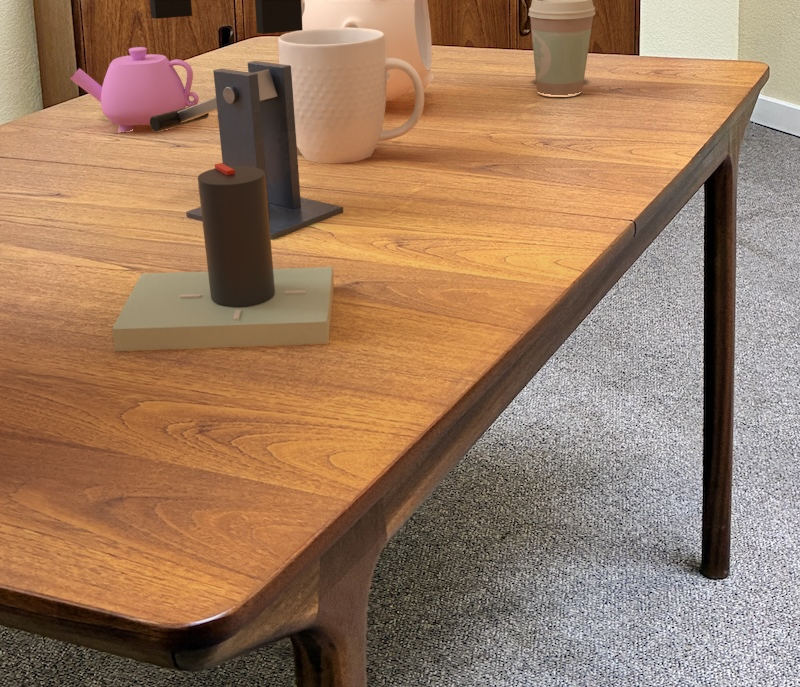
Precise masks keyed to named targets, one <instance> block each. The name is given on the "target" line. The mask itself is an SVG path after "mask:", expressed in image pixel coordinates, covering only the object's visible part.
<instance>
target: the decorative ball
mask: <svg viewBox="0 0 800 687" xmlns="http://www.w3.org/2000/svg"><path fill="white" fill-rule="evenodd" d="M301 6H302V29H303V30H308V29H319V28H340V27H348V28H366V29H374V30H378V31H381V32H383V33H384V35H385V53H386V58H397V59H400V60H403V61H405V62H407V63H409V64H410V65H411V66H412V67H413V68H414V69H415V70H416V71H417V73H418V75H419V77H420V79H421V81H422V85H423V89H424V90H425V89H426V88H427V86H428V85H430V83H431V82H432V81H433V79H434V78H435V75H434V74H433V73H432V63H433V43H432V42H433V41H432V30H431V18H430V11H429V2H428V0H301ZM386 75H387V79H386V80H387V85H386V89H387V90H386V103H387V102H390V101H393V100H395V99H398V98H401V97H402V96H404V95H405V94H408V93H409V92H410V91H412V90H413V89H415V88H414V85H413V82H412V80H411V79H410V77H409V76H408V75H407V74H406V73H405V72H404V71H402V70H400V69H391V70H387V71H386Z"/></svg>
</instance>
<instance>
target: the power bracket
mask: <svg viewBox="0 0 800 687" xmlns="http://www.w3.org/2000/svg"><path fill="white" fill-rule="evenodd" d="M267 69H269V71H270V74H271V77H272V80H273V83H274V86H275V89H276V92H277V95H278V96H277V97H275V98H272V99H269V100H267V101H264V102H261V103H260V96H259V84H258V74H257V73H255V72H259V71H263V70H267ZM212 72H213V82H214V91H215V97H216V102H217V110H216V111H217V120H218V130H219V141H220V150H221V160H222V161H221V163H223V164H225V165H227V166H228V167H229V166H249V167H255V168H259V169H261V170H263V171H264V172H265V179H266V191H267V203H268V214H269V226H270V238H271V241H274V240H277V239H279V238H282V237H284V236H287V235H289V234H291V233H292V234H293V233H294V232H297V231H300V230H302V229H305V228H307V227H310V226H313V225H315V224H318V223H320V222H322V221H326V220H327V219H331V218H332V217H335V216H338V215H341V214H343V213H344V207H343V206H340V205H336V204H333V203H332V204H331V203H327V202H324V201H319V200H314V199H309V198H306V197H301V187H300V173H299V159H298V147H297V143H296V129H295V115H294V101H293V87H292V73H291V66H290V65H283V64H279V63H276V62H267V61H259V60H253V61H248V62H247V71H242V70H236V69H227V68H218V69H214V70H213V71H212ZM185 213H186V218H188V219H192V220H196V221H199V222H202V213H201V206H199V207H196V208H194V209H191V210H187V211H186V212H185Z"/></svg>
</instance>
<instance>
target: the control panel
mask: <svg viewBox="0 0 800 687" xmlns="http://www.w3.org/2000/svg"><path fill="white" fill-rule="evenodd" d="M273 273H274V285H275V294H274V296H273V297H272V298H271V299H269V300H267V301H265V302H263V303H260V304H256V305H252V306H244V307H230V306H223V305H219V304H217V303H215V302H213V301H212V299H211V294H210V285H209V276H208V270H206V271H205V270H202V271H179V272H177V271H174V272H151V273H150V272H149V273H147V272H146V273H141V274H140V276H139V278H138V279H137V281H136V283H135V285H134V287H133V288H132V291H131V293H130V294H129V296H128V298H127V300H126V302H125V304H124V305H123V307H122V309H121V311H120V312H119V315H118V316H117V318H116V320H115V322H114V324H113V326H112V327H111V334H112V342H113V347H114V352H132V351H133V352H135V351H138V352H139V351H158V350H159V351H161V350H184V349H185V350H188V349H189V350H190V349H191V350H193V349H194V350H195V349H215V348H216V349H218V348H220V349H221V348H244V347H272V346H273V347H274V346H275V347H276V346H303V345H305V346H306V345H326V344H327V345H328V344H329V343H330V332H331V323H332V322H331V321H332V311H333V302H334V301H333V300H334V292H335V291H334V289H335V281H334V280H335V279H334V267H333V266H321V267H320V266H319V267H314V266H313V267H292V268H291V267H289V268H286V267H285V268H273Z"/></svg>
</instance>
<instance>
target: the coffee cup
mask: <svg viewBox="0 0 800 687" xmlns="http://www.w3.org/2000/svg"><path fill="white" fill-rule="evenodd" d="M595 15H596V6H594V1H593V0H531V4H530V7H529V8H528V13H527V16H529V18H530V29H531V39H532V40H531V41H532V52H533V62H534V74H535V84H536V92H537V91H538V92H540V93H544V94H551V95H568V94H575V93H579V92H581V91H582V92H583V89H584V88H583V87H584V82H585V75H586V68H587V61H588V54H589V48H590V41H591V36H592V35H591V34H592V26H593V20H594V16H595Z"/></svg>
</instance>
